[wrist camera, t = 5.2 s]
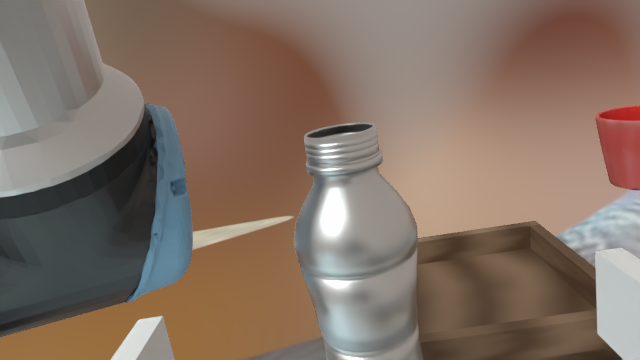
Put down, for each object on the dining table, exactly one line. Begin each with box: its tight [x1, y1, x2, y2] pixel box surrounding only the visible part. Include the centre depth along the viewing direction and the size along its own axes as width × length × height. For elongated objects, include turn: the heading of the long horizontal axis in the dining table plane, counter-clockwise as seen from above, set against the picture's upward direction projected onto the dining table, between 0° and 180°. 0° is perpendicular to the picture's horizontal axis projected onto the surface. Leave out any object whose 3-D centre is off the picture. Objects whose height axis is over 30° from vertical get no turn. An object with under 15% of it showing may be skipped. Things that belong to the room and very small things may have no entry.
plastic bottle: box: [294, 122, 423, 360], centre depth 26 cm, size 6×7×20 cm
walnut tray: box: [416, 221, 622, 360], centre depth 42 cm, size 18×18×4 cm
